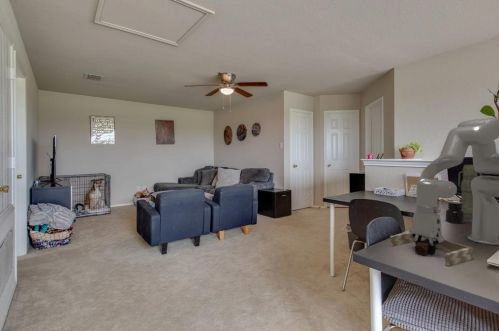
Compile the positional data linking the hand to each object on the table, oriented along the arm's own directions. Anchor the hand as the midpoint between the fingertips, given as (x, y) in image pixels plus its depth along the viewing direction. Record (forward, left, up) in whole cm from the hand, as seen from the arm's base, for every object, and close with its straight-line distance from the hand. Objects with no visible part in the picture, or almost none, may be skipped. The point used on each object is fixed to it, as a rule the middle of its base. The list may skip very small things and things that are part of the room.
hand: (425, 251), depth 111 cm
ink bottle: (-67, -23, -1) cm, 71 cm away
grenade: (-89, -26, -1) cm, 93 cm away
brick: (0, 0, -1) cm, 1 cm away
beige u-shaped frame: (-2, 0, 0) cm, 2 cm away
